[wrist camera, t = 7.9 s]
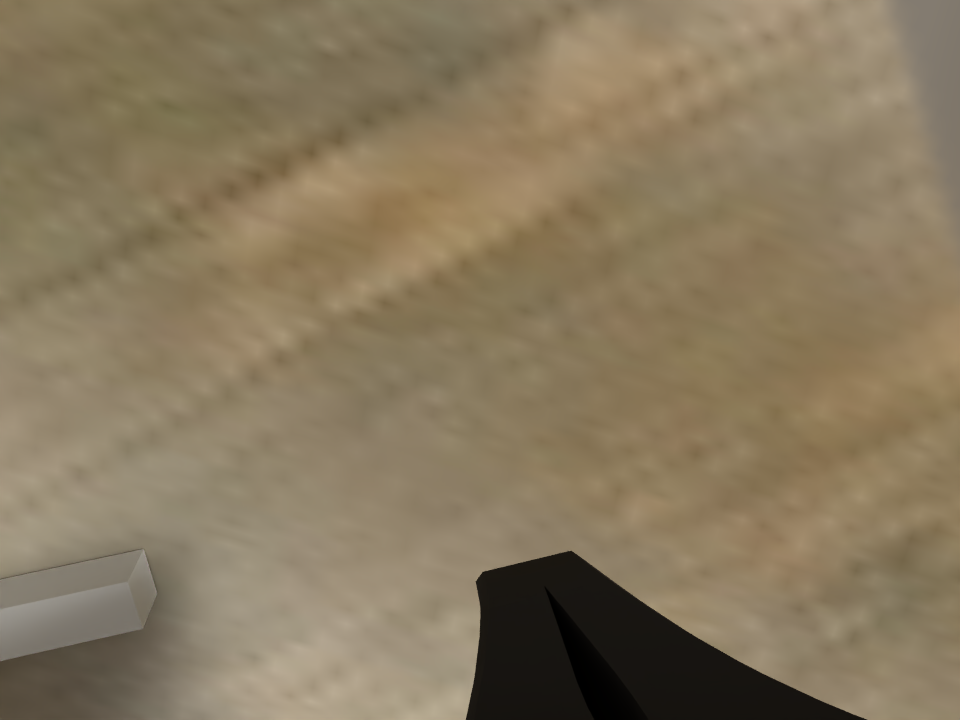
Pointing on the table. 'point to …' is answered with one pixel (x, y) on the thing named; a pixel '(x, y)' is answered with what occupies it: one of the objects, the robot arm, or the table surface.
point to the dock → (74, 604)
